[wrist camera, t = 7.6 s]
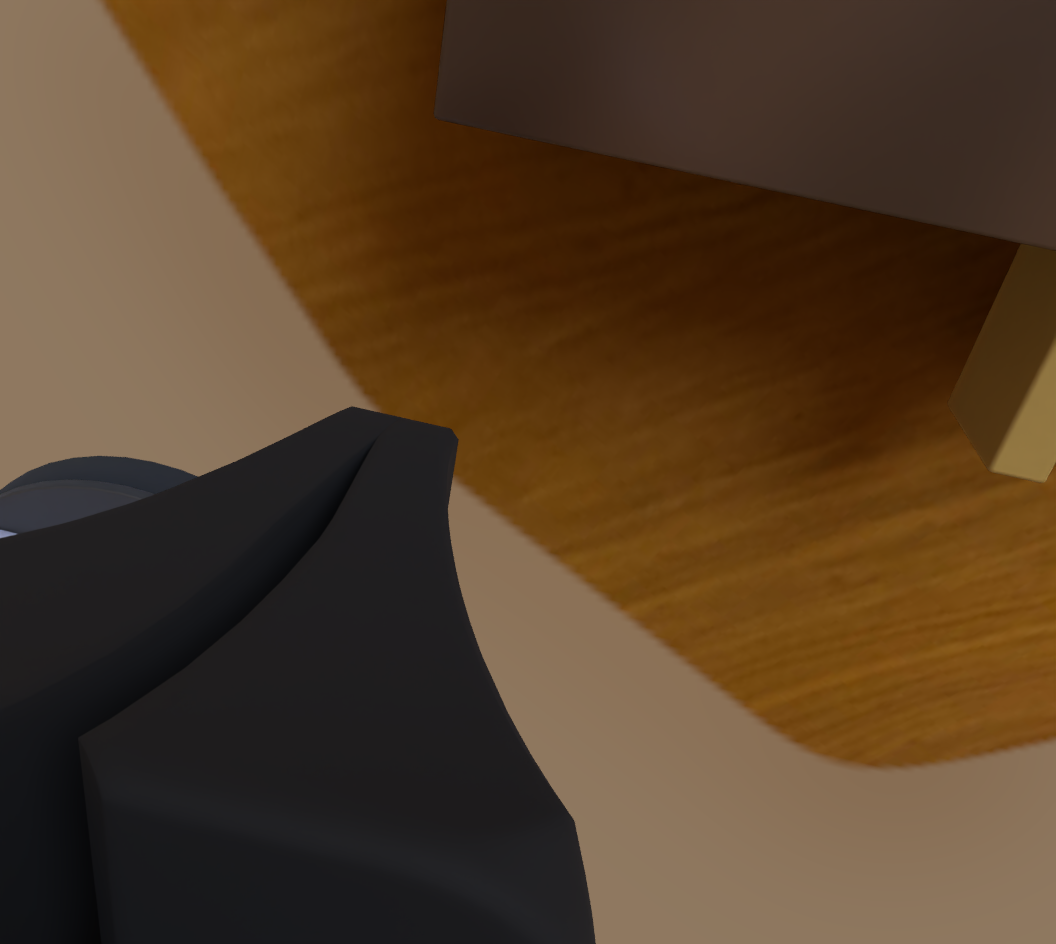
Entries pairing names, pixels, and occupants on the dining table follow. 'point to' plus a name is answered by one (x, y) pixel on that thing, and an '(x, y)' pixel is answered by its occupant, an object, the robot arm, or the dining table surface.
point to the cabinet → (784, 96)
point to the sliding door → (1014, 373)
